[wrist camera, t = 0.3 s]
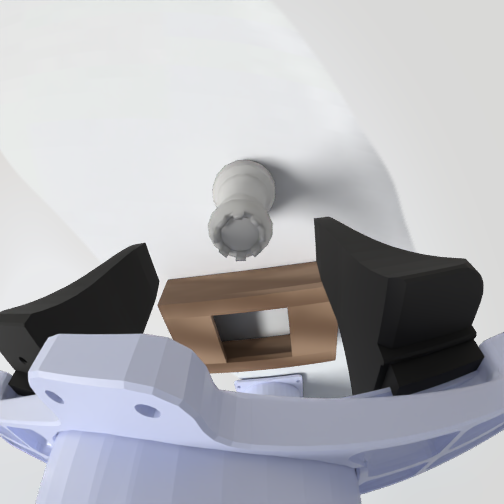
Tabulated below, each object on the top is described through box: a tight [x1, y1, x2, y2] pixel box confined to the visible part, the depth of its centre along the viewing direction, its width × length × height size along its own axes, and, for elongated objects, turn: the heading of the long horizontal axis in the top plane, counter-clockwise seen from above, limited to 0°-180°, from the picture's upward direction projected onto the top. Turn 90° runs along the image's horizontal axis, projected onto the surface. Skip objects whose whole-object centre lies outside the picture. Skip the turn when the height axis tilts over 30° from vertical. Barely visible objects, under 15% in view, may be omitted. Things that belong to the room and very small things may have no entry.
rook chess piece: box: [208, 160, 275, 261], centre depth 17 cm, size 4×4×8 cm
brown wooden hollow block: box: [158, 262, 338, 373], centre depth 25 cm, size 9×14×4 cm, turn 99°
